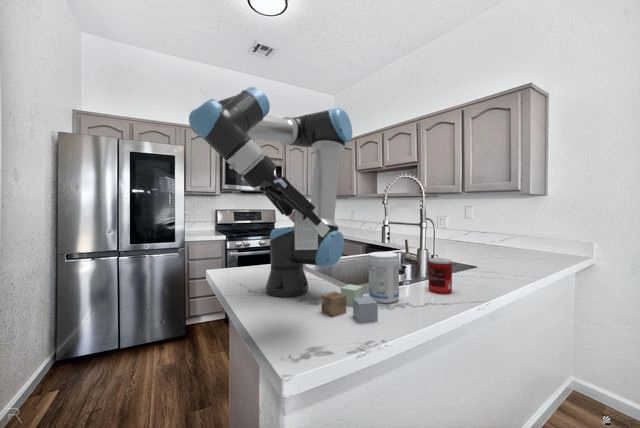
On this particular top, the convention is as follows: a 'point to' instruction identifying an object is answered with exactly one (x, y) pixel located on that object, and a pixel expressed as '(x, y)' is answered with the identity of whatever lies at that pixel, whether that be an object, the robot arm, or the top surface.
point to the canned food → (440, 275)
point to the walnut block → (333, 304)
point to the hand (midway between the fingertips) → (316, 231)
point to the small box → (304, 232)
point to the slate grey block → (365, 309)
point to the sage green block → (352, 293)
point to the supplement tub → (383, 277)
